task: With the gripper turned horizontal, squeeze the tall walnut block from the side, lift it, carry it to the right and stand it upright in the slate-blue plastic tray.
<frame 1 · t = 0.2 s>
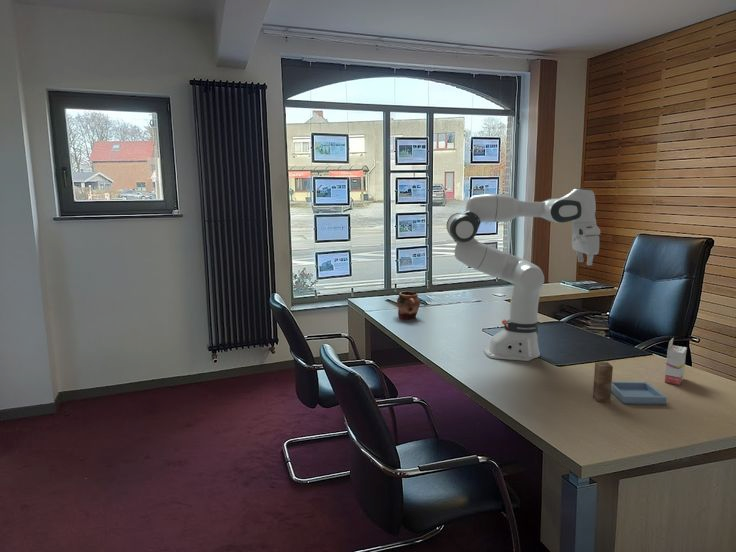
hand: (585, 263, 200), 38 cm above the table, tool pointing down, fingers open, 8 cm apart
slate tray: (635, 396, 164), on the table
ink cartridge box: (674, 381, 178), on the table
decorative planter: (408, 318, 270), on the table
walnut block: (601, 399, 162), on the table
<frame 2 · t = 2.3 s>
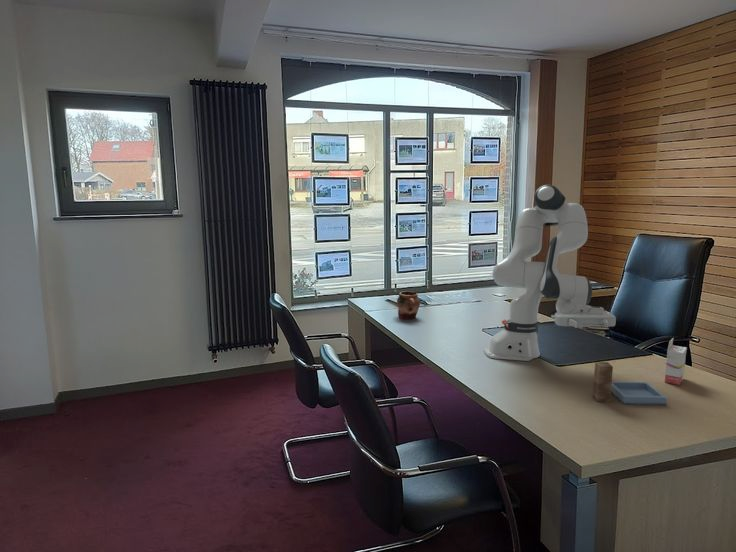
hand: (592, 325, 171), 22 cm above the table, tool horizontal, fingers open, 8 cm apart
nothing on the table moved.
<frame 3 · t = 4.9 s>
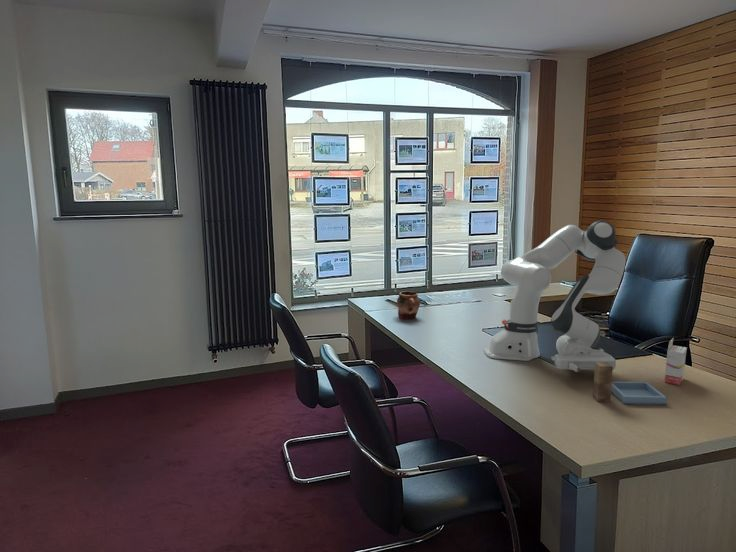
hand: (592, 369, 171), 7 cm above the table, tool horizontal, fingers open, 8 cm apart
nothing on the table moved.
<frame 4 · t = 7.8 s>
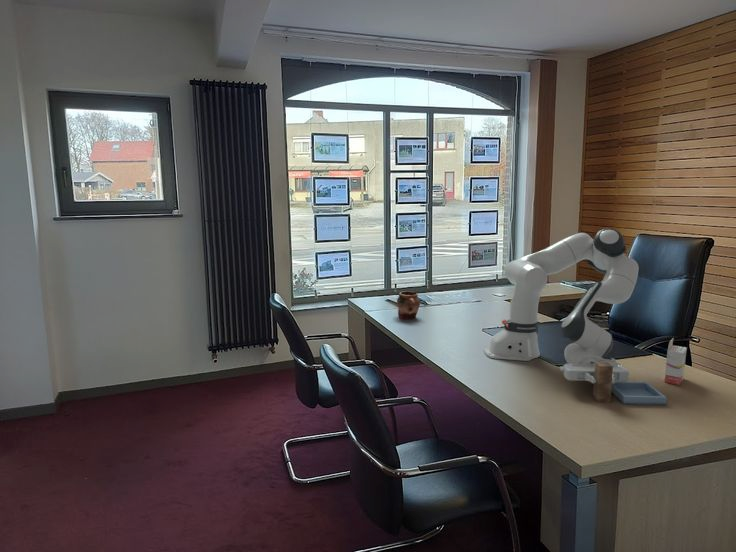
hand: (603, 381, 160), 7 cm above the table, tool horizontal, fingers closed on walnut block, 4 cm apart
walnut block: (601, 399, 162), on the table, touching gripper
everything else where it was.
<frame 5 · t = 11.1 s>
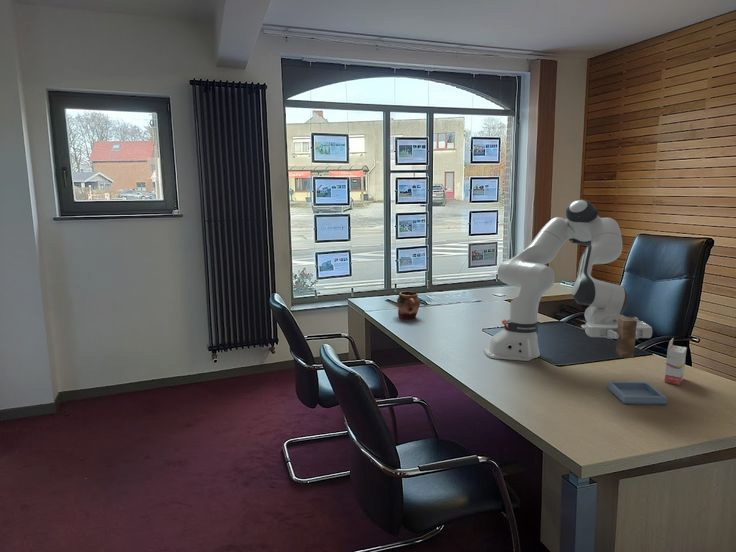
hand: (627, 336, 159), 21 cm above the table, tool horizontal, fingers closed on walnut block, 4 cm apart
walnut block: (624, 355, 161), point 14 cm above the table, touching gripper
everything else where it was.
when the fingers open (8 cm above the table, at t = 14.7 s): walnut block drops 1 cm, resting on slate tray.
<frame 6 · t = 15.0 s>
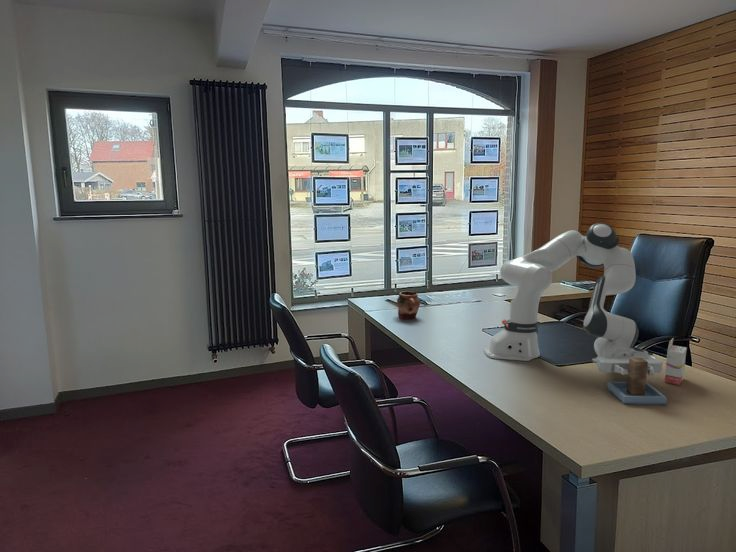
hand: (638, 372, 162), 8 cm above the table, tool horizontal, fingers open, 7 cm apart
walnut block: (635, 394, 164), point 1 cm above the table, touching slate tray
everything else where it was.
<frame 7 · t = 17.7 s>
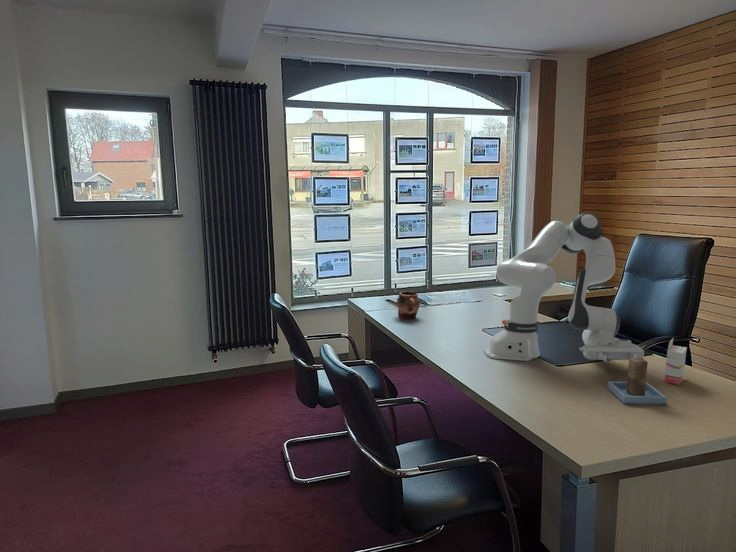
hand: (621, 359, 175), 8 cm above the table, tool horizontal, fingers open, 8 cm apart
nothing on the table moved.
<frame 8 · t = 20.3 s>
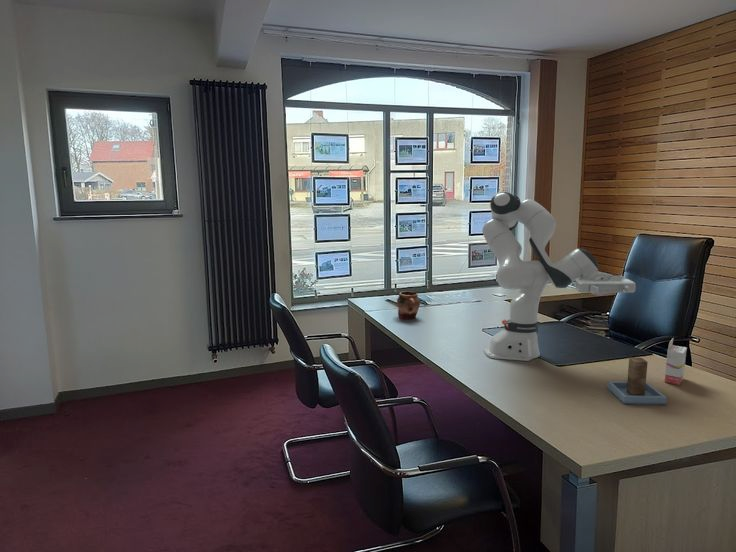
hand: (613, 290, 177), 32 cm above the table, tool horizontal, fingers open, 8 cm apart
nothing on the table moved.
at the end: walnut block inside the target area on the slate tray (0.0 cm from its centre), point 0.6 cm above the slate tray's base; walnut block tilted 0°; the gripper is holding nothing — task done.
